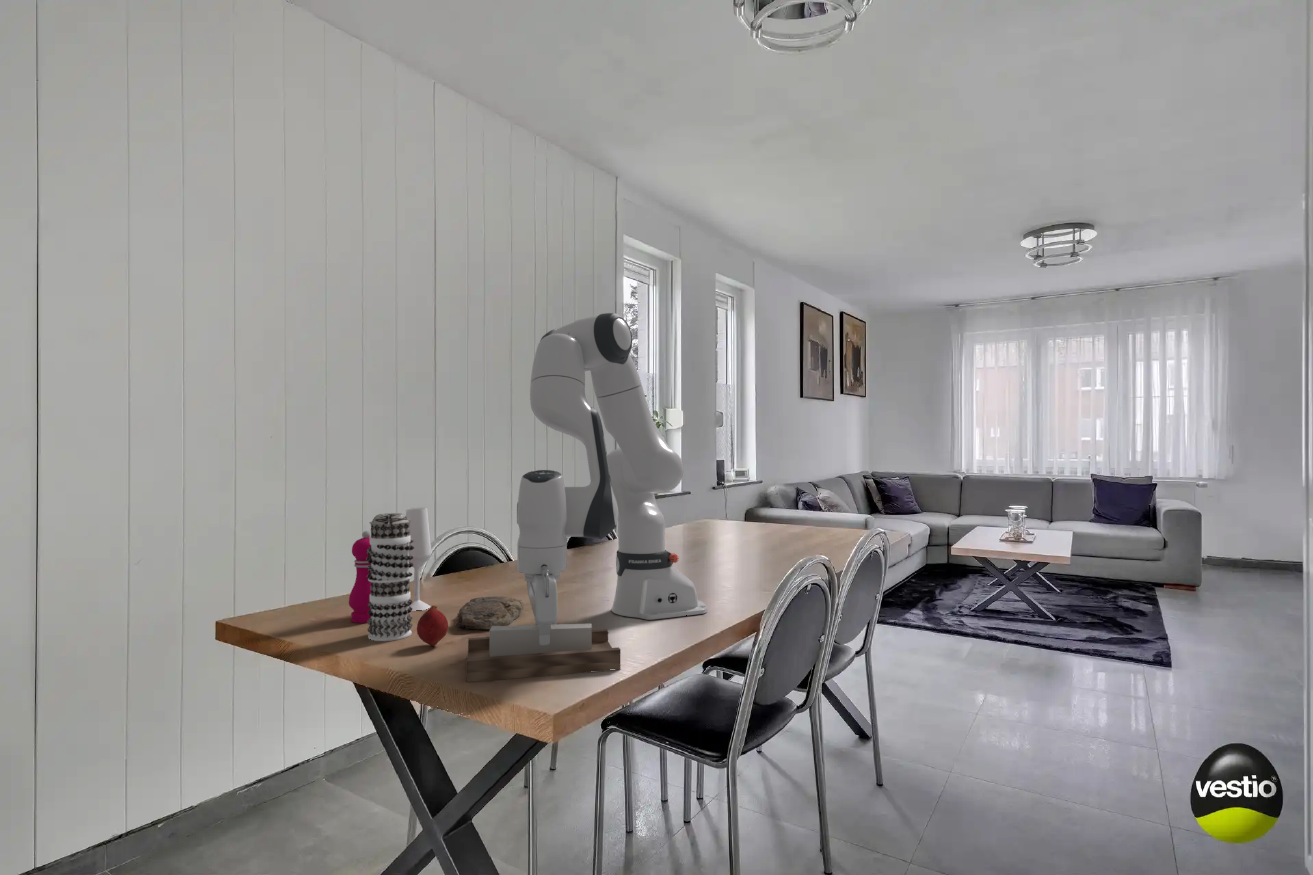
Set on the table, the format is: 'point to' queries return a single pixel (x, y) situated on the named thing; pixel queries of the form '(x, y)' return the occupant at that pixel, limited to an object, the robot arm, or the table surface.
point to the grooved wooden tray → (540, 660)
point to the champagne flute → (419, 549)
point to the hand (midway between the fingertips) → (542, 637)
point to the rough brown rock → (488, 612)
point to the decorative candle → (389, 577)
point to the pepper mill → (361, 581)
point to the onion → (432, 626)
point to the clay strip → (527, 639)
